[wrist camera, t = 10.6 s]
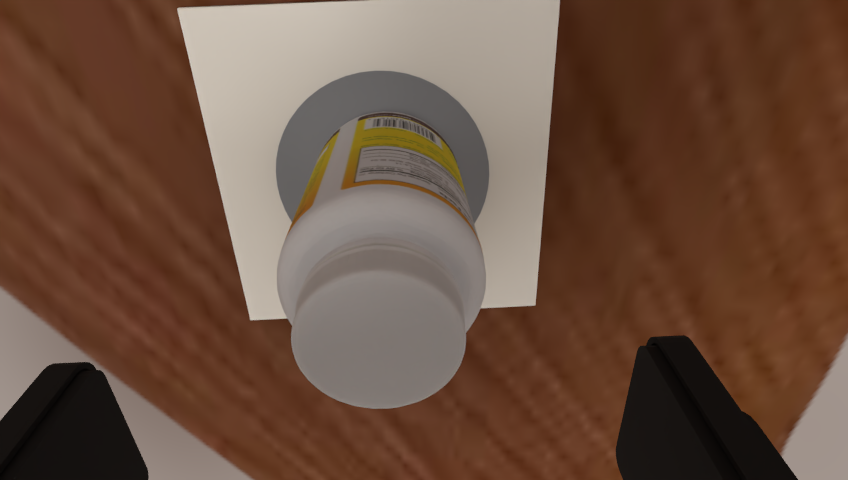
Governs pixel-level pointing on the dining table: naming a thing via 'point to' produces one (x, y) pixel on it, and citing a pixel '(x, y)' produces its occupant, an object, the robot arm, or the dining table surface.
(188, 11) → the card
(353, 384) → the supplement bottle
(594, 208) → the dining table surface
